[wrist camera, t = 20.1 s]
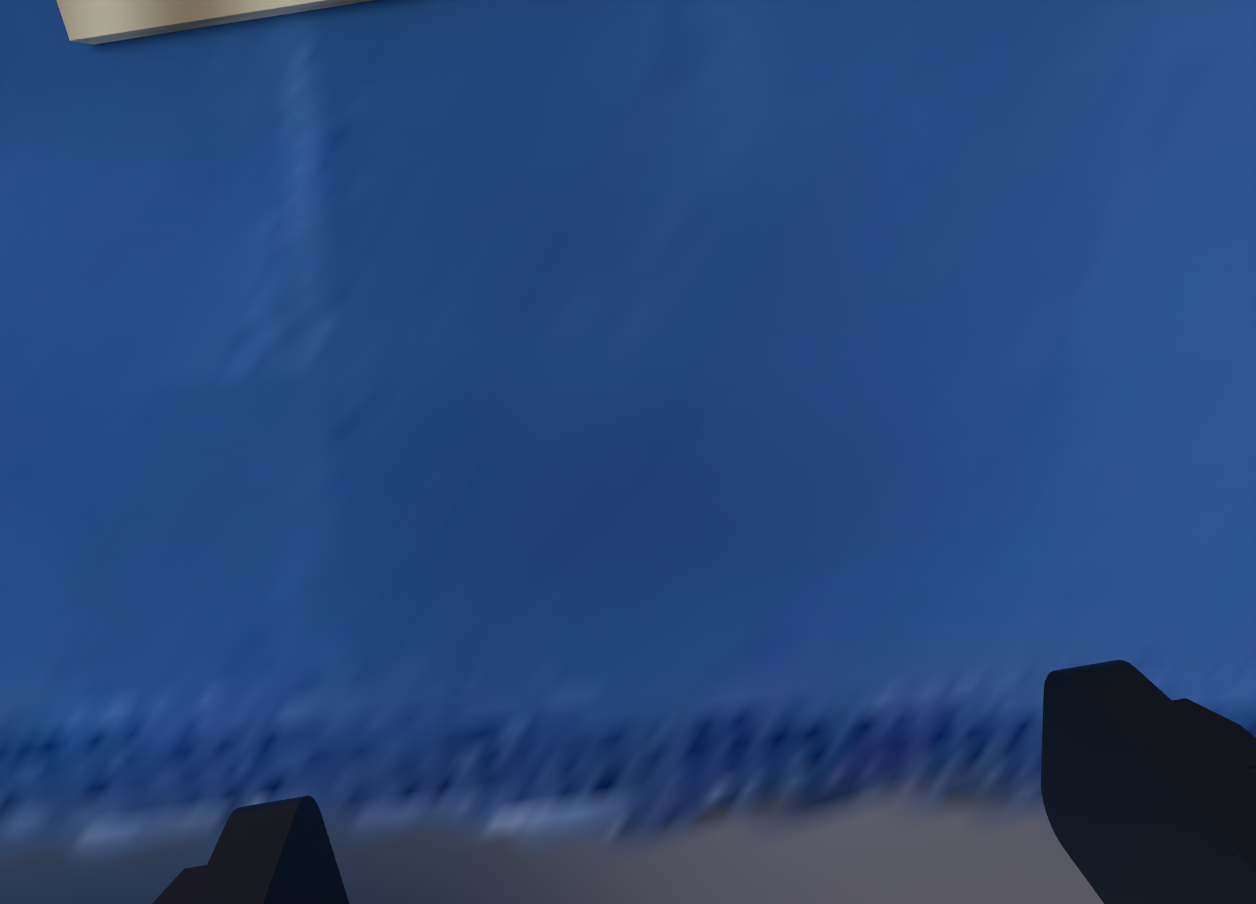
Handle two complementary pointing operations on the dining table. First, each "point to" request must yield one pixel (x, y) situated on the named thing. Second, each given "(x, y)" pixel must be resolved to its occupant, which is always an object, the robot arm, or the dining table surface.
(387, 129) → the dining table surface
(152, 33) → the pine board
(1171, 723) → the robot arm
